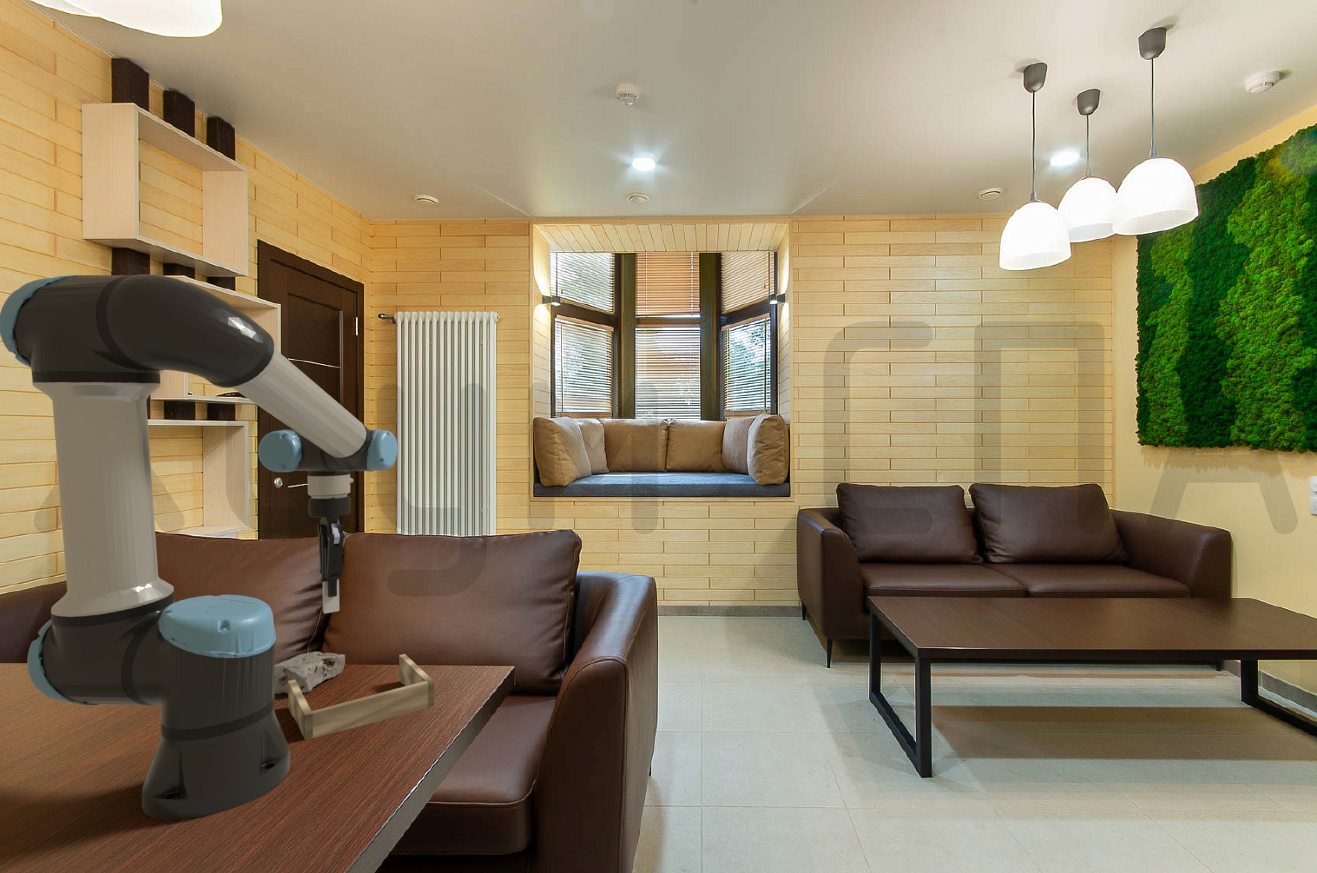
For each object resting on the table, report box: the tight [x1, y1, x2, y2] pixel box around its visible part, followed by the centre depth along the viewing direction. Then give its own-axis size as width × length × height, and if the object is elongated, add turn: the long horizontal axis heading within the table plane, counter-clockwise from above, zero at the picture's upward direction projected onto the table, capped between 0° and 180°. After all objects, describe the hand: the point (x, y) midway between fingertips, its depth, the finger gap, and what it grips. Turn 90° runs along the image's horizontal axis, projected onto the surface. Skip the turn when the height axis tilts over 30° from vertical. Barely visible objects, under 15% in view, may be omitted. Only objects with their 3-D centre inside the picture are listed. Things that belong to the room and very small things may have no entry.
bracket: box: [287, 653, 435, 741], centre depth 99 cm, size 16×19×5 cm
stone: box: [274, 651, 346, 695], centre depth 110 cm, size 13×6×10 cm
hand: (331, 611), depth 119 cm, fingers closed
